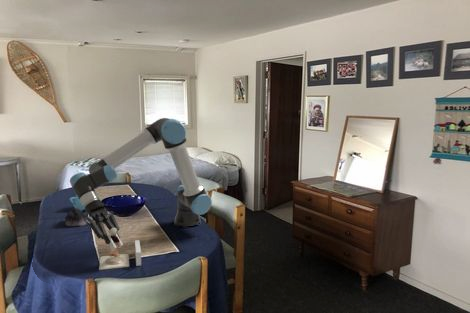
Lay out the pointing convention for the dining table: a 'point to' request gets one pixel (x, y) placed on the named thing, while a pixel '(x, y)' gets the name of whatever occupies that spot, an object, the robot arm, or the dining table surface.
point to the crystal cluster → (76, 218)
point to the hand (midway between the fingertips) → (117, 247)
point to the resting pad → (114, 262)
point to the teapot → (77, 203)
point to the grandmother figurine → (115, 240)
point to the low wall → (137, 252)
